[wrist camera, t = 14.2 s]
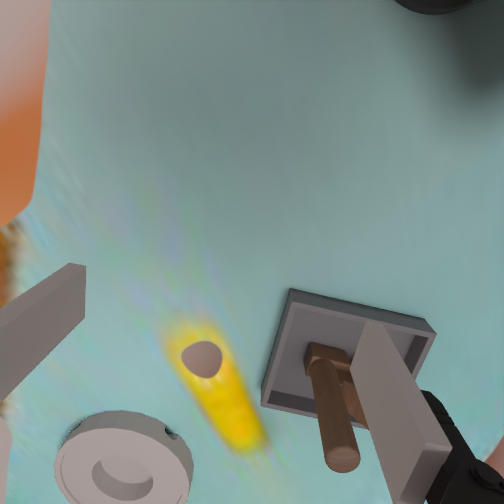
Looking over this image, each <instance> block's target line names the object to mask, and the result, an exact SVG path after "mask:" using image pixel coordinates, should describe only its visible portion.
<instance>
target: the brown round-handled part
mask: <svg viewBox="0 0 504 504" xmlns="http://www.w3.org/2000/svg"><path fill="white" fill-rule="evenodd" d="M303 362H304V369H305V375H306V376H308V377H311V381H312V387H313V393H314V399H315V405H316V411H317V416H318V422H319V428H320V434H321V440H322V445H323V451H324V457H325V462H326V464H327V465H328V467H329V468H330V469H331V470H333V471H335V472H338V473H347V472H350V471H353V470H354V469H356V468H357V467H358V465H359V463H360V459H361V458H360V453H359V449H358V446H357V442H356V439H355V435H354V431H353V428H352V424H351V421H350V417H349V414H350V415H352V416H353V417H354V418H355V419H356V420H357V421H359V422H360V423H361V424H362V425H363V426H365V427H366V428H367V429H368V430H369V427H368V424H367V421H366V418H365V415H364V412H363V409H362V406H361V403H360V400H359V396H358V393H357V390H356V387H355V384H354V381H353V378H352V375H351V372H350V366H351V363H352V362H351V360H350V358H349V357H348V355H347V353H346V352H345V351H344V350H340V349H336V348H332V347H328V346H324V345H320V344H316V343H312V342H310V344H309V346H308V349H307V352H306V354H305V357H304V360H303ZM340 384H341V385H342V386H340ZM348 413H349V414H348ZM369 431H370V430H369Z"/></svg>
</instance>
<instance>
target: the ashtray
mask: <svg viewBox="0 0 504 504" xmlns="http://www.w3.org/2000/svg"><path fill="white" fill-rule="evenodd" d="M165 427H167V425H166V424H164V423H163V422H161V421H159V420H158V419H155V418H153V417H150V416H147V415H144V414H142V413H137V412H130V411H124V410H121V411H105V412H102V413H99V414H95V415H92V416H90V417H88V418H86V419H85V420H83V421H82V423H81V425H80V426H79V427H78V428H77V429H73V431H72V432H71V433H70V435H69V436H68V438H67V439H66V441H65V442H64V444H63V445H62V447H61V448H60V450H59V451H58V453H57V456H56V460H55V463H54V475H55V479H56V482H57V484H58V487H59V489H60V491H61V492H62V494H63V495H64V496H65V497H66V499H67V500H68V501H69V502H70V503H71V504H185V502H186V500H187V498H188V494H189V490H190V485H191V481H192V476H193V467H194V464H193V459H192V455H191V452H190V450H189V448H188V446H187V445H186V443H185V441H184V440H183V439H182V438H181V437H180V436H179V435H178V434H166V432H165Z"/></svg>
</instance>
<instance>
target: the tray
mask: <svg viewBox="0 0 504 504" xmlns="http://www.w3.org/2000/svg"><path fill="white" fill-rule="evenodd" d="M366 321H371V322H376V323H381V324H383V326H384V327H385V329H386V331H387V333H388V334H389V336H390V338H391V340H392V341H393V343H394V345H395V347H396V348H397V350H398V352H399V354H400V356H401V357H402V359H403V361H404V363H405V364H406V366H407V368H408V370H409V371H410V373H411V375H412V377H413V378H414V380H415V379H416V377H417V375H418V373H419V371H420V369H421V367H422V364H423V362H424V360H425V358H426V356H427V354H428V352H429V350H430V348H431V346H432V343H433V341H434V339H435V337H436V335H437V334H436V332H435V331H434V330H433V329H432V328H431V326H430V325H429V324H428V323H427V322H426V320H425V319H423V318H418V317H414V316H410V315H405V314H401V313H396V312H392V311H388V310H383V309H379V308H375V307H370V306H366V305H361V304H357V303H353V302H348V301H344V300H340V299H335V298H331V297H326V296H322V295H318V294H313V293H309V292H304V291H300V290H296V289H291V288H290V291H289V294H288V298H287V301H286V305H285V308H284V312H283V315H282V318H281V322H280V325H279V329H278V332H277V335H276V339H275V342H274V346H273V349H272V352H271V356H270V359H269V363H268V366H267V369H266V373H265V376H264V380H263V383H262V386H261V406H262V407H267V408H271V409H276V410H280V411H285V412H290V413H294V414H299V415H303V416H308V417H313V418H317V419H318V416H317V411H316V405H315V399H314V393H313V387H312V381H311V377H308V376H306V375H305V369H304V362H303V360H304V357H305V354H306V352H307V349H308V346H309V344H310V342H312V343H316V344H320V345H324V346H328V347H332V348H336V349H340V350H344V351H345V352H346V353H347V355H348V357H349V358H350V360H351V362H352V360H353V357H354V355H355V352H356V349H357V346H358V343H359V340H360V337H361V334H362V332H363V329H364V326H365V323H366ZM340 386H342V385H341V384H340ZM348 414H349V413H348ZM349 417H350V421H351V424H352V426H354V427H359V428H364V429H367V428H366V427H365V426H363V425H362V424H361V423H360V422H359V421H357V420H356V419H355V418H354V417H353V416H352V415H350V414H349Z"/></svg>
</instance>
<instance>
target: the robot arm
mask: <svg viewBox="0 0 504 504" xmlns="http://www.w3.org/2000/svg"><path fill="white" fill-rule="evenodd" d="M396 1H397V2H398V3H400V4H401V5H403V6H404V7H406V8H408V9H410V10H412V11H415V12H418V13H423V14H433V15H435V14H445V13H449V12H453V11H456V10H459V9H461V8H463V7H465V6H467V5H469V4H471V3H473V2H474V1H476V0H396ZM85 289H86V266H84V265H79V264H74V263H68V264H67V265H65V266H64V267H62V268H61V269H59V270H58V271H56V272H55V273H53V274H52V275H50V276H49V277H47V278H46V279H44V280H43V281H41V282H40V283H38V284H37V285H35V286H34V287H32V288H31V289H29V290H28V291H26V292H25V293H23V294H22V295H20V296H19V297H17V298H16V299H14V300H12V301H11V302H9V303H8V304H6V305H5V306H3V307H2V308H0V403H1V402H2V401H3V400H4V399H5V398H6V397H7V396H8V395H9V394H10V393H11V392H12V391H13V390H14V389H15V388H16V387H17V385H18V384H19V383H20V382H21V381H22V380H23V379H24V378H25V377H26V376H27V375H28V374H29V373H30V372H31V371H32V370H33V369H34V368H35V367H36V366H37V365H38V364H39V363H40V362H41V361H42V360H43V359H44V358H45V357H46V356H47V355H48V354H49V353H50V352H51V351H52V350H53V349H54V348H55V347H56V346H57V345H58V344H59V343H60V342H61V341H62V340H63V339H64V338H65V337H66V336H67V335H68V334H69V333H70V332H71V331H72V330H73V329H74V328H75V327H76V326H77V325H78V324H79V323H80V322H81V321H82V320H83V319H84V318H85ZM350 372H351V375H352V378H353V381H354V384H355V387H356V390H357V393H358V396H359V400H360V403H361V406H362V409H363V412H364V415H365V418H366V421H367V424H368V427H369V430H370V434H371V437H372V440H373V443H374V446H375V449H376V452H377V455H378V458H379V461H380V464H381V467H382V471H383V474H384V477H385V480H386V483H387V486H388V489H389V492H390V495H391V498H392V501H393V504H424V502H425V500H427V503H428V504H504V479H503V477H502V476H501V475H500V474H499V473H498V472H497V471H496V470H494V469H493V468H492V467H490V466H489V465H488V464H486V463H484V462H482V461H480V460H478V459H476V458H475V456H474V455H473V453H472V451H471V450H470V448H469V446H468V445H467V443H466V442H465V440H464V438H463V437H462V435H461V434H460V432H459V430H458V429H457V427H456V426H454V422H453V421H452V419H451V417H449V416H448V415H449V414H448V413H447V411H446V409H445V408H444V406H443V404H442V403H441V402H440V401H439V400H438V399H437V398H436V397H435V396H434V395H433V394H432V393H431V392H429V391H424V390H420V389H419V387H418V385H417V384H416V382H415V380H414V378H413V377H412V375H411V373H410V371H409V370H408V368H407V366H406V364H405V363H404V361H403V359H402V357H401V356H400V354H399V352H398V350H397V348H396V347H395V345H394V343H393V341H392V340H391V338H390V336H389V334H388V333H387V331H386V329H385V327H384V326H383V324H381V323H376V322H371V321H366V323H365V326H364V329H363V332H362V334H361V337H360V340H359V343H358V346H357V349H356V352H355V355H354V357H353V360H352V363H351V366H350Z"/></svg>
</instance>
